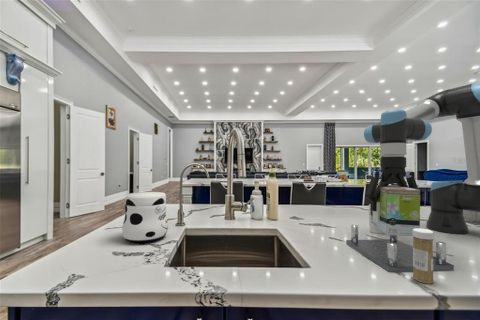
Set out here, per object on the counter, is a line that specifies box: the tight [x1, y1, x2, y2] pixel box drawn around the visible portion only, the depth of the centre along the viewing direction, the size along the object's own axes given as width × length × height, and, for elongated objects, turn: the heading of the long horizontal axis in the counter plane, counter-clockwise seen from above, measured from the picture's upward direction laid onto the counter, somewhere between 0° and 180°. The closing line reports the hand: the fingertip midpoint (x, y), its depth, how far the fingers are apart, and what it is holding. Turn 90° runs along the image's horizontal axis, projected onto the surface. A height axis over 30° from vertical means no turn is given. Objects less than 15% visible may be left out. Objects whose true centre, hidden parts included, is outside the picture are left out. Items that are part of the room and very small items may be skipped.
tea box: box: [370, 184, 421, 237], centre depth 83 cm, size 15×10×15 cm, turn 169°
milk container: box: [121, 191, 169, 243], centre depth 99 cm, size 17×17×18 cm
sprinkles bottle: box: [412, 227, 435, 284], centre depth 65 cm, size 5×5×14 cm
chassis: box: [345, 224, 455, 273], centre depth 82 cm, size 20×24×8 cm
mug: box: [368, 203, 385, 235], centre depth 110 cm, size 10×7×12 cm, turn 94°
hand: (392, 220), depth 83 cm, fingers closed on tea box, 11 cm apart
